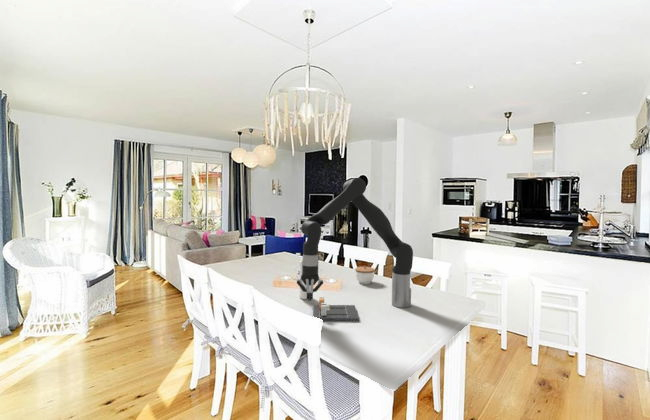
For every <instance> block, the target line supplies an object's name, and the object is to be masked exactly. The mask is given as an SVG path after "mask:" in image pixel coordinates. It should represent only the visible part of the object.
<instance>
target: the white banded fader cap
mask: <svg viewBox="0 0 650 420" xmlns="http://www.w3.org/2000/svg"><path fill="white" fill-rule="evenodd" d="M327 305H328V304H327V303H326V302H324V303H321V316H327Z"/></svg>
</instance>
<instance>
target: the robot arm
mask: <svg viewBox="0 0 650 420" xmlns="http://www.w3.org/2000/svg"><path fill="white" fill-rule="evenodd" d="M342 189H343V191H342V192H341V193H340V194H338V196H336V197H335V198H333V199H331V200H330V201H329V202H328V203H326V204H325V205H324V206H323V207H322V208H321V209H319V211H318V212H316V213H315V214H312V216H310V217H309V218H307V219H306V220H304V221H303V223H302V224H301V227H300V231H301V233H302V234H303V235H304V236H307V239H306V241H304V242H303V245H302V246H303V248H302V258H301V259H302V276H301V278H300V277H299V279H297V280H296V284H297V285H298V286H299V289H300V288H301V289H302V290H303V292H306V293H307V299H306V300H307V301H308V302H309V301H310V302H311V301H312V300H313V297H314V293H315V292H316V293H317V291H318V290H319V289H320V288H321V286H322V285H323V284H324V280H323V279H321V278H320V276H319V265H320V264H319V262H320V261H319V244H320V241H321V237H322V227H321V226H323V225H327V224H329V222H331V221H332V220H334V218H335V217H336V216H337V215H338V214H339V213H340V212H341V211H342V210H343V209H344V208H346V207H347V205H349V204H350V203H352V204H353V205H354V206H355V208H357V209H358V211H359V212H360V213H361V214H362V216H363V217H364V218H365V219H366V221H367V223H368V224H369V225H370V227H371V228H372V229H373V230H374V231H375V233H376V234H377V235H378V236H379V238H380V239H382V241H383V242H384V243H385V245H386V247H387V249H388V250H389V252H390V253H391V255H392V256H393V257H394V258H395V264H394V266H392V272H391V273H392V274H391V275H392V276H391V281H392V283H391V305H392V306H393V307H396V308H400V309H401V308H402V309H403V308H408V307H409V308H410V307H412V287H411V272H412V268H413V260H414V251H413V250H414V249H413V247H412V246H411V245H410V244H409V243H407V242H404V241H402V240H401V239H400V238H399V237H398V236H397V235H396V233H395V232H394V230H393V229H394V228H393V227H392V225H391V222H390V220H389V219H388V217H387V215H386V214H385V212H384V211H383V210H382V209H381V208H379V207H378V206H377V205H376V204H374V203H373V202H371V201H370V200H368V198H366V196H365V195H364V193H365V192H366V189H367V184H366V182H365V180H364V179H362V178H360V177H354V178H352V179H351V178H350V179H349V180H346V181H345V182H344V183H343V186H342ZM302 281H303V282H304V284H305V285H306V288H305V287H304V286H303V284H302ZM316 284H317V285H316ZM309 285H311V289H310V292H309ZM315 285H316V286H315ZM314 286H315V287H314Z"/></svg>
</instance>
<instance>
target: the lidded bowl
mask: <svg viewBox="0 0 650 420" xmlns="http://www.w3.org/2000/svg"><path fill="white" fill-rule="evenodd" d="M354 270H355V277H356V280H357V281H358V283H360V284H361V285H368V284H371V283H372V281H373V280H374V278H375V268H374V267H371V266H366V265H363V266H356V267H355V269H354Z"/></svg>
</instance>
